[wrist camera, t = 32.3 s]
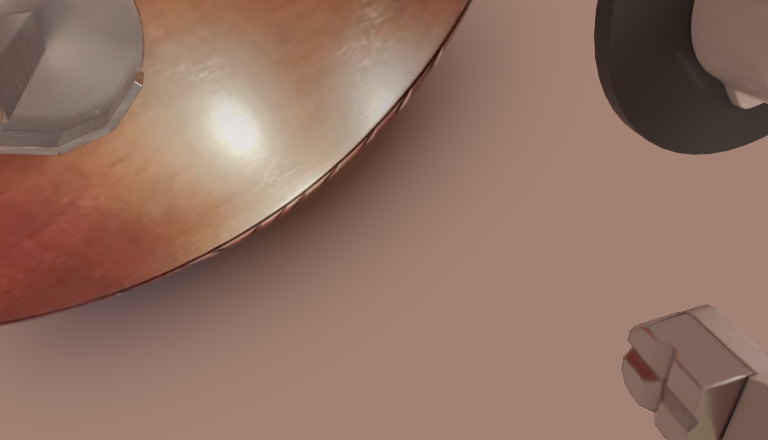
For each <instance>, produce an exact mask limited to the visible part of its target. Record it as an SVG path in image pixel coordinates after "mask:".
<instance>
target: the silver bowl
mask: <svg viewBox="0 0 768 440" xmlns="http://www.w3.org/2000/svg"><path fill="white" fill-rule="evenodd" d="M143 58H144V34H143V26H142V22H141V18H140V14H139V11H138V8H137V6H136V3H135V0H0V154H22V155H59V153H60V154H61V155H63V154H65V153H67V152H69V151H71V150H74V149H76V148H78V147H80V146H82V145H84V144H87V143H89V142H91V141H93V140H95V139H98V138H100V137H102V136H104V135H106V134H108V133H111V132H112V131H113V130H115V129H116V127H117V126H118V124H119V122H120V121H121V119H122V118H123V116H124V115H125V113H126V112H127V110H128V108H129V107H130V105H131V104H132V102H133V101H134V99H135V98H136V96H137V94H138V93H139V91H140V90H141V88H142V87H143V78H144V73H142V72H141V68H142V63H143Z"/></svg>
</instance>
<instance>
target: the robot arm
mask: <svg viewBox="0 0 768 440" xmlns="http://www.w3.org/2000/svg"><path fill="white" fill-rule="evenodd" d="M691 39H692V45H693V49H694V52H695V55H696V57H697V59H698V61H699V63H700V64H701V66H702V67H703V68H704V69H705V70H706V71H707V72H708V73H709V74H710V75H712V76H713V77H715V78H717V79H718V80H719V81H721V82H722V83H723V84H724V86H725V89H726V92H727V95H728V97H729V100H730V101H731V103H732V104H733V105H735V106H738V107H741V108H744V109H749V108H752V107H755V106H757V105H759V104H762V103H767V104H768V0H695V1H694V5H693V10H692V18H691ZM628 341H629V343H630V344H631V345H632V348H631V349H630V350H629V351H628V352H627V353H626V355H625V356H624V357H623V363H622V374H623V378H624V382H625V385H626V387H627V388H628V390H629V392H630V394H631V395H632V397H633V398H634V399H635V401H636V402H637V403H638V404H639V405H640V406H642V407H644V408H646V409H648V410H650V411H652V412H654V422H655V426H656V427H657V428H658V429H659V431H660V432H661V433H662V435H663V436H664V437H665V438H666V439H667V440H768V355H767V354H766V353H765V352H764V351H763V350H762V349H761V348H760V347H759V346H757V345H756V344H755V343H754V342H753V341H752V340H751V339H750V338H749V337H747V336H746V335H745V334H744V333H743V332H742V331H741V330H740V329H738V328H737V327H736V326H735V325H734V324H733V323H732V322H731V321H730V320H728V319H727V318H726V317H725V316H724V315H723V314H722V313H721V312H719V311H718V310H717V309H716V308H714V307H712V306H709V305H702V306H699V307H696V308H693V309H689V310H686V311H683V312H677V313H674V314H670V315H667V316H664V317H661V318H658V319H655V320H652V321H648V322H645V323H642V324H639V325H636V326H634V327H633V328H632V329H631V330H630V333H629V337H628Z"/></svg>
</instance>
